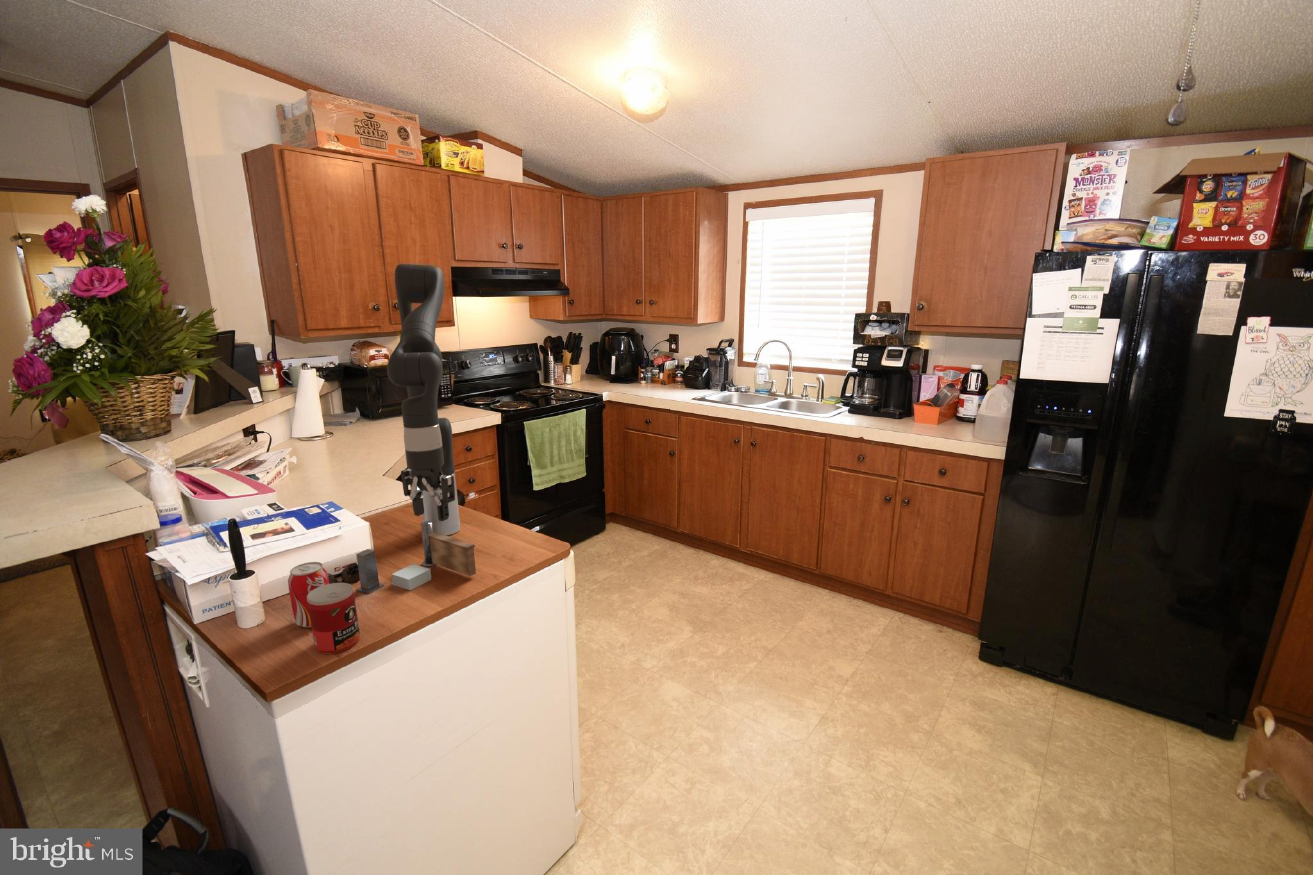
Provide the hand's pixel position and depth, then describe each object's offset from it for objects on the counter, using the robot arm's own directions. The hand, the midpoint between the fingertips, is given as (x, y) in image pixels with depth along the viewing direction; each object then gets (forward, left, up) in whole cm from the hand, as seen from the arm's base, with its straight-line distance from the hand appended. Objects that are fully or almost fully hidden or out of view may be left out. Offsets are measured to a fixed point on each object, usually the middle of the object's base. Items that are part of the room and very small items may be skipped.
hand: (431, 517), depth 126 cm
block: (-9, 0, -18) cm, 20 cm away
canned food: (-1, -24, -18) cm, 30 cm away
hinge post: (-13, +9, -18) cm, 24 cm away
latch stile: (-15, -7, -18) cm, 24 cm away
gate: (-4, +8, -17) cm, 19 cm away
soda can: (-13, -21, -18) cm, 31 cm away
